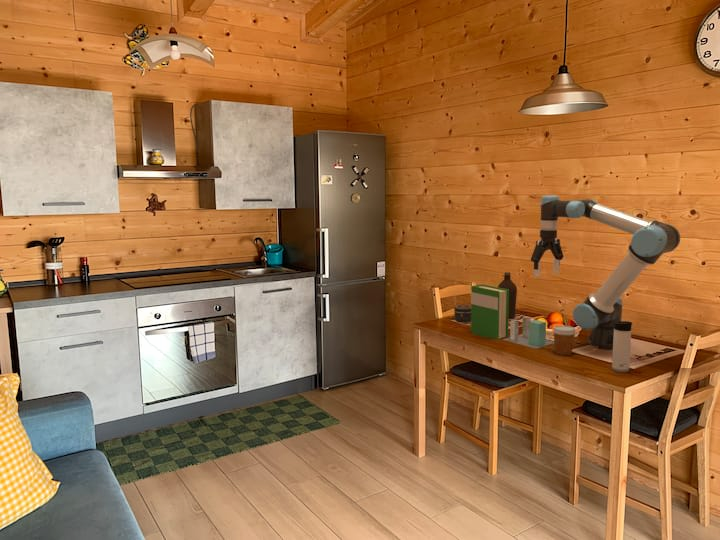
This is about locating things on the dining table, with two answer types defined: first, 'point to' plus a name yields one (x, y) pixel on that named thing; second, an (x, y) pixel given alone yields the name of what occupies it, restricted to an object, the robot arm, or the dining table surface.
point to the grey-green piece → (537, 333)
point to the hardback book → (489, 311)
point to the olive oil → (510, 293)
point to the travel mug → (621, 346)
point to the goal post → (525, 327)
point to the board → (526, 342)
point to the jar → (462, 313)
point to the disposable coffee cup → (563, 339)
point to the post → (514, 331)
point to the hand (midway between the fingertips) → (546, 274)
